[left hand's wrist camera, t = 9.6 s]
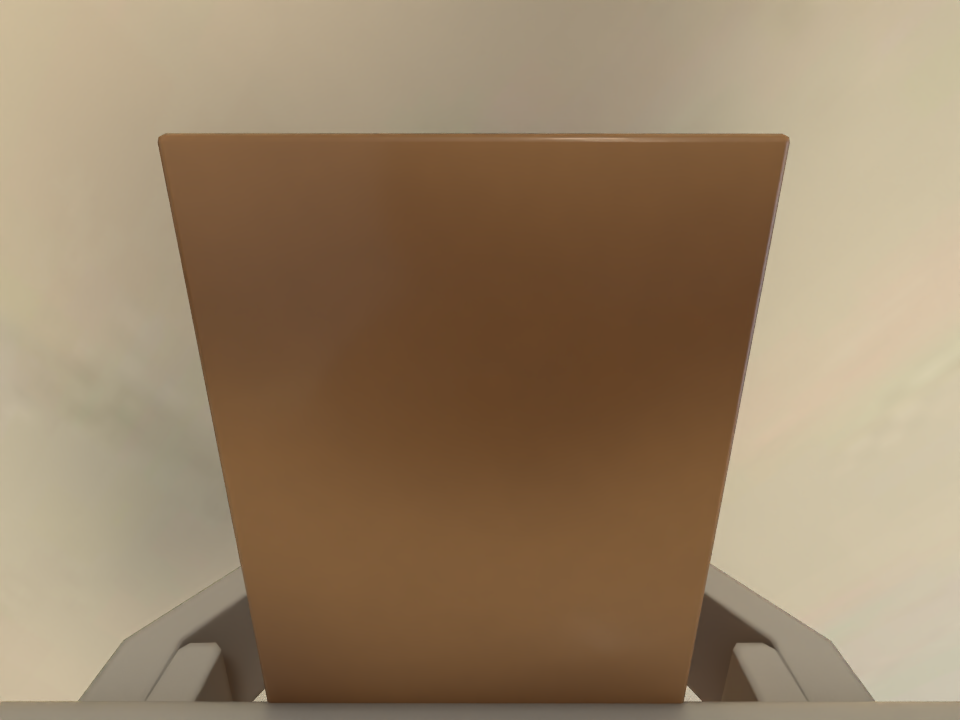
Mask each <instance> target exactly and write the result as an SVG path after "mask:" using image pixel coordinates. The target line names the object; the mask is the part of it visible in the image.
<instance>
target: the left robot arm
mask: <svg viewBox="0 0 960 720" xmlns="http://www.w3.org/2000/svg"><path fill="white" fill-rule="evenodd" d="M687 686H688V687H689V688H690V689H691V690H692V691H693V692H694V693H695V694H696V695H697V696H698V697H699V698H700V699H701V700H702V701H703V702H683V703H680V704H627V703H268V702H252V701H253V700H254V699H255V698H256V697H257V696H258V695H259V694H260V693H261V692H262V691H263V690H264V689H265V686H264V680H263V675H262V670H261V665H260V660H259V655H258V650H257V645H256V640H255V635H254V630H253V624H252V619H251V614H250V609H249V604H248V599H247V594H246V589H245V584H244V579H243V574H242V568H241V566H240V567H239V568H237V569H235V570H234V571H232V572H231V573H229V574H228V575H226V576H224V577H223V578H221V579H220V580H218V581H217V582H215V583H213V584H212V585H210V586H209V587H207V588H205V589H204V590H202V591H201V592H199V593H198V594H196V595H194V596H193V597H191V598H190V599H188V600H186V601H185V602H183V603H182V604H180V605H179V606H177V607H175V608H174V609H172V610H171V611H169V612H168V613H166V614H164V615H163V616H161V617H160V618H158V619H156V620H155V621H153V622H152V623H150V624H149V625H147V626H145V627H144V628H142V629H141V630H139V631H138V632H136V633H134V634H133V635H131V636H130V637H128V638H126V639H125V640H123V642H122V643H121V644H120V646H119V647H118V648H117V650H116V651H115V652H114V654H113V655H112V656H111V658H110V659H109V660H108V662H107V663H106V664H105V666H104V667H103V668H102V670H101V671H100V672H99V674H98V675H97V676H96V678H95V679H94V680H93V682H92V683H91V684H90V686H89V687H88V688H87V690H86V691H85V692H84V694H83V695H82V696H81V698H80V699H79V700H78V701H0V720H960V701H942V702H875V700H874V699H873V698H872V696H871V695H870V693H869V692H868V691H867V689H866V688H865V687H864V685H863V684H862V683H861V681H860V680H859V678H858V677H857V676H856V674H855V673H854V672H853V670H852V669H851V667H850V666H849V665H848V663H847V662H846V661H845V659H844V658H843V657H842V655H841V654H840V652H839V651H838V650H837V648H836V647H835V646H834V644H833V643H832V642H831V641H830V640H829V639H827V638H825V637H824V636H822V635H821V634H819V633H818V632H816V631H815V630H813V629H811V628H810V627H808V626H807V625H805V624H804V623H802V622H800V621H799V620H797V619H796V618H794V617H793V616H791V615H790V614H788V613H786V612H785V611H783V610H782V609H780V608H779V607H777V606H776V605H774V604H772V603H771V602H769V601H768V600H766V599H765V598H763V597H761V596H760V595H758V594H757V593H755V592H754V591H752V590H751V589H749V588H747V587H746V586H744V585H743V584H741V583H740V582H738V581H737V580H735V579H733V578H732V577H730V576H729V575H727V574H726V573H724V572H722V571H721V570H719V569H718V568H716V567H715V566H713V565H712V564H710V565H709V570H708V575H707V581H706V586H705V591H704V597H703V602H702V607H701V612H700V618H699V623H698V628H697V633H696V639H695V644H694V649H693V654H692V660H691V665H690V670H689V676H688V681H687Z"/></svg>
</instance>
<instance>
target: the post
mask: <svg viewBox="0 0 960 720" xmlns="http://www.w3.org/2000/svg"><path fill="white" fill-rule="evenodd" d="M789 144H790V142H789V137H788V136H786V135H784V134H269V133H166V134H164V135H162V136H160V137H159V138H158V146H159V151H160V156H161V161H162V166H163V171H164V176H165V181H166V186H167V192H168V197H169V202H170V207H171V212H172V217H173V222H174V227H175V232H176V237H177V242H178V248H179V253H180V258H181V263H182V268H183V273H184V278H185V283H186V288H187V293H188V298H189V304H190V309H191V314H192V319H193V324H194V329H195V334H196V339H197V344H198V349H199V355H200V360H201V365H202V370H203V375H204V380H205V385H206V390H207V395H208V400H209V405H210V411H211V416H212V421H213V426H214V431H215V436H216V441H217V446H218V451H219V456H220V461H221V467H222V472H223V477H224V482H225V487H226V492H227V497H228V502H229V507H230V512H231V517H232V523H233V528H234V533H235V538H236V543H237V548H238V553H239V558H240V563H241V568H242V574H243V579H244V584H245V589H246V594H247V599H248V604H249V609H250V614H251V619H252V624H253V630H254V635H255V640H256V645H257V650H258V655H259V660H260V665H261V670H262V675H263V680H264V686H265V691H266V696H267V701H268V703H627V704H680V703H683V702H684V697H685V691H686V686H687V681H688V676H689V670H690V665H691V660H692V654H693V649H694V644H695V639H696V633H697V628H698V623H699V618H700V612H701V607H702V602H703V597H704V591H705V586H706V581H707V575H708V570H709V565H710V560H711V554H712V549H713V544H714V539H715V533H716V528H717V523H718V518H719V512H720V507H721V502H722V496H723V491H724V486H725V481H726V475H727V470H728V465H729V460H730V454H731V449H732V444H733V439H734V433H735V428H736V423H737V417H738V412H739V407H740V402H741V396H742V391H743V386H744V381H745V375H746V370H747V365H748V360H749V354H750V349H751V344H752V338H753V333H754V328H755V323H756V317H757V312H758V307H759V302H760V296H761V291H762V286H763V281H764V275H765V270H766V265H767V259H768V254H769V249H770V244H771V238H772V233H773V228H774V223H775V217H776V212H777V207H778V201H779V196H780V191H781V186H782V180H783V175H784V170H785V165H786V159H787V154H788V149H789Z"/></svg>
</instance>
